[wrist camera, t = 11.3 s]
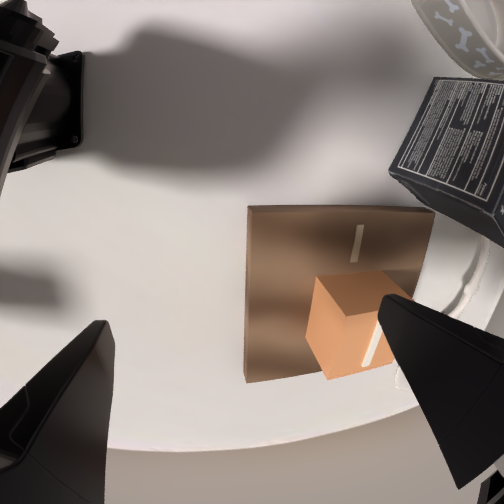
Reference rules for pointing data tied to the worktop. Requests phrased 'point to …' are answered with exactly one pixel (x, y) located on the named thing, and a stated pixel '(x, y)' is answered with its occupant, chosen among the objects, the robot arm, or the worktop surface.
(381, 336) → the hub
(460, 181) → the small box
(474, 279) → the spoon
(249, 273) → the base plate
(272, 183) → the worktop surface
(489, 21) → the dog bowl
